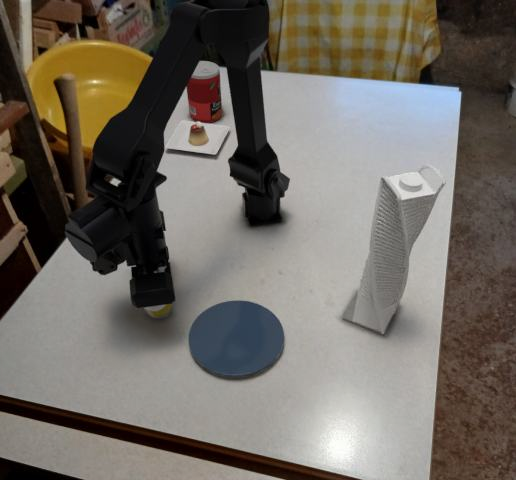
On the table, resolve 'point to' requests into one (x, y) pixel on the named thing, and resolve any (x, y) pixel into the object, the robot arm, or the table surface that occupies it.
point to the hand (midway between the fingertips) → (156, 291)
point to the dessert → (197, 137)
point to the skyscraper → (392, 247)
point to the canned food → (205, 93)
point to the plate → (236, 339)
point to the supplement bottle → (159, 310)
